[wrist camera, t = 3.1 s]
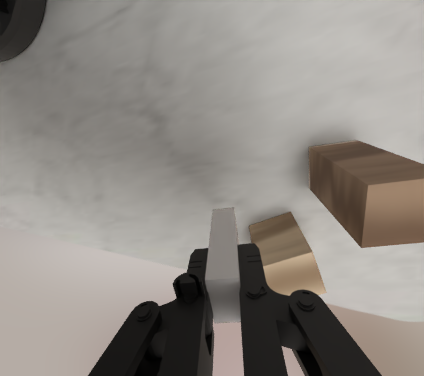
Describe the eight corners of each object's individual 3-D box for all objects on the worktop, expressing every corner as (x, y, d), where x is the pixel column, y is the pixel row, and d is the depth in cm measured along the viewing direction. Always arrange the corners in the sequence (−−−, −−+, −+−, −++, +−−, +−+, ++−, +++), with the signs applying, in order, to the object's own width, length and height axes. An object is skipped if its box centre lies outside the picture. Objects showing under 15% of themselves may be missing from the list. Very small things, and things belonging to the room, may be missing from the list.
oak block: (248, 225, 27) (256, 268, 20) (290, 211, 26) (312, 251, 19) (262, 257, 28) (274, 306, 22) (302, 245, 27) (326, 292, 21)
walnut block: (308, 146, 23) (368, 185, 13) (356, 140, 22) (453, 175, 13) (308, 187, 24) (361, 247, 15) (352, 182, 24) (436, 241, 14)
